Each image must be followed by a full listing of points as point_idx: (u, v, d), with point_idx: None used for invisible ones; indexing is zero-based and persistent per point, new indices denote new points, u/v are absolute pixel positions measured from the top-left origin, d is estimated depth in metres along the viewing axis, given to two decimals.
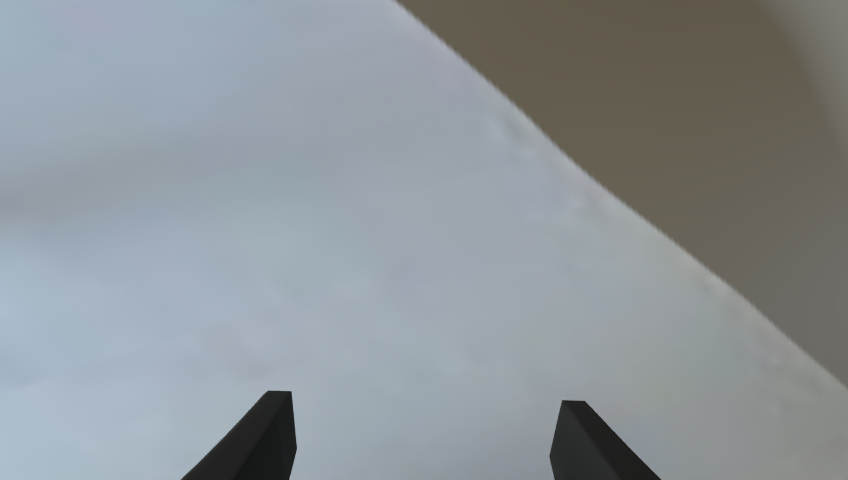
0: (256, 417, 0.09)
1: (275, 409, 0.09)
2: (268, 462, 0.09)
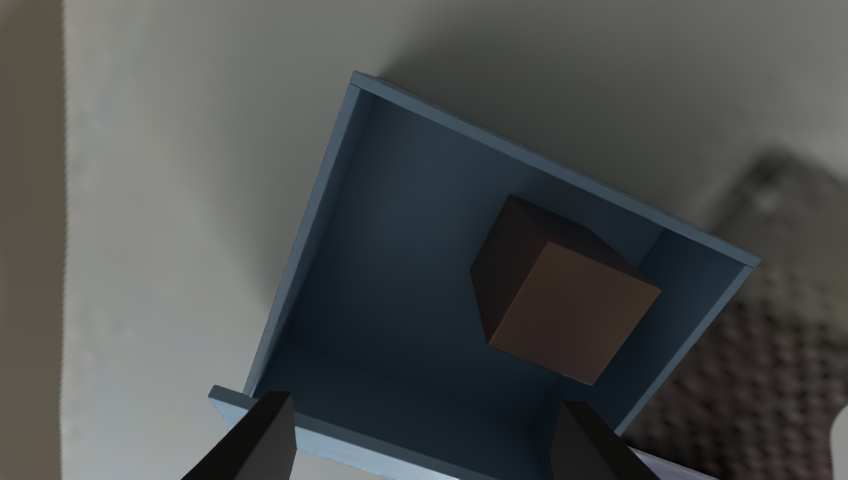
0: (256, 417, 0.09)
1: (275, 409, 0.09)
2: (268, 462, 0.09)
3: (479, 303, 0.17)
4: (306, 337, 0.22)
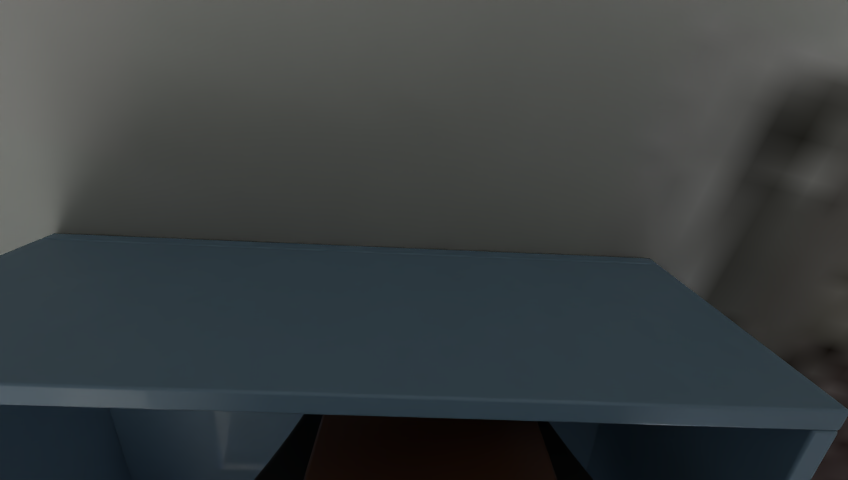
0: (314, 419, 0.09)
1: None
2: None
3: None
4: None
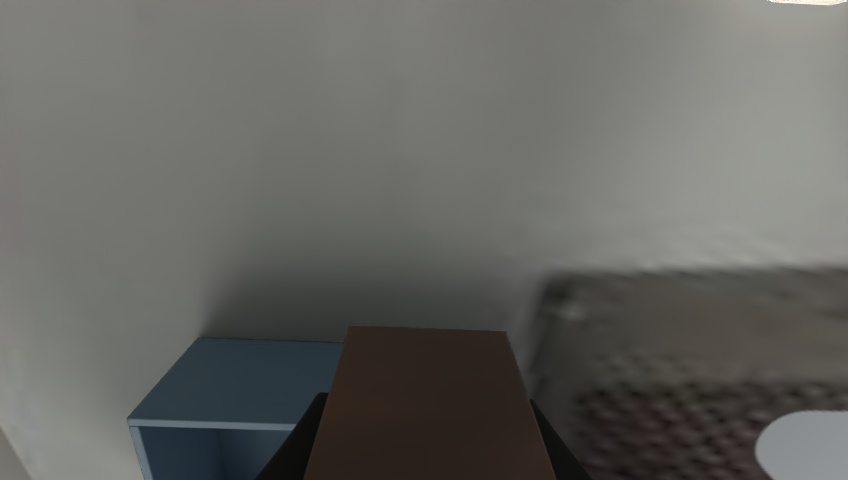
0: (314, 419, 0.09)
1: None
2: None
3: None
4: None
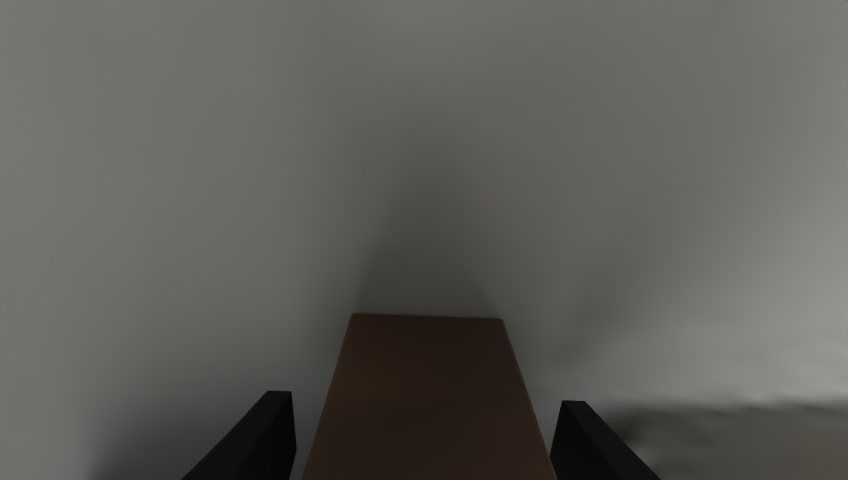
0: (256, 417, 0.09)
1: (275, 409, 0.09)
2: (268, 462, 0.09)
3: None
4: None
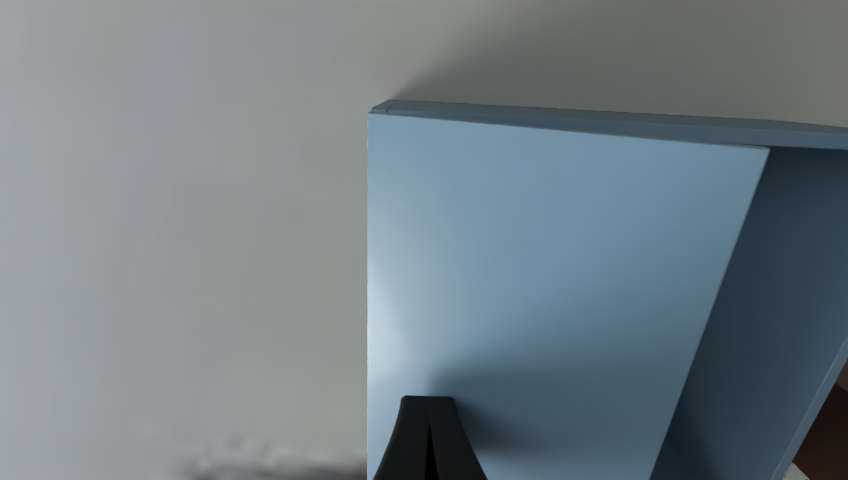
0: (411, 422, 0.09)
1: (425, 414, 0.09)
2: None
3: None
4: None
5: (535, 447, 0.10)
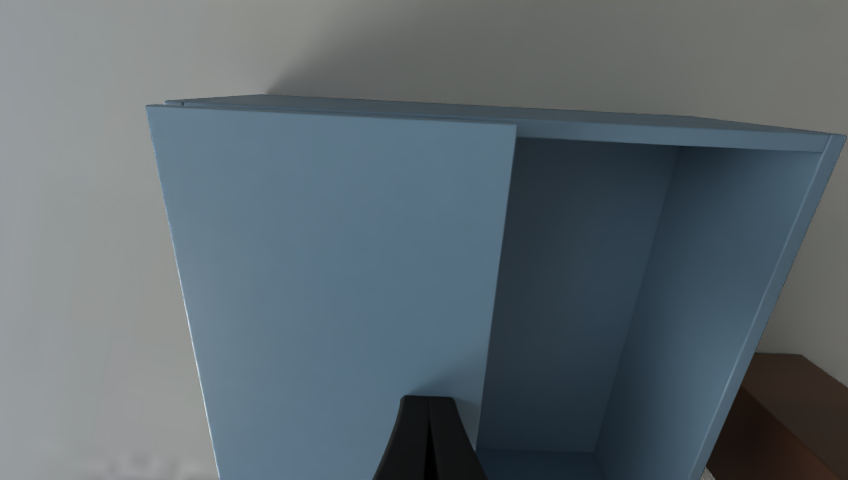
0: (410, 422, 0.09)
1: (424, 414, 0.09)
2: None
3: (778, 415, 0.14)
4: None
5: (389, 412, 0.10)
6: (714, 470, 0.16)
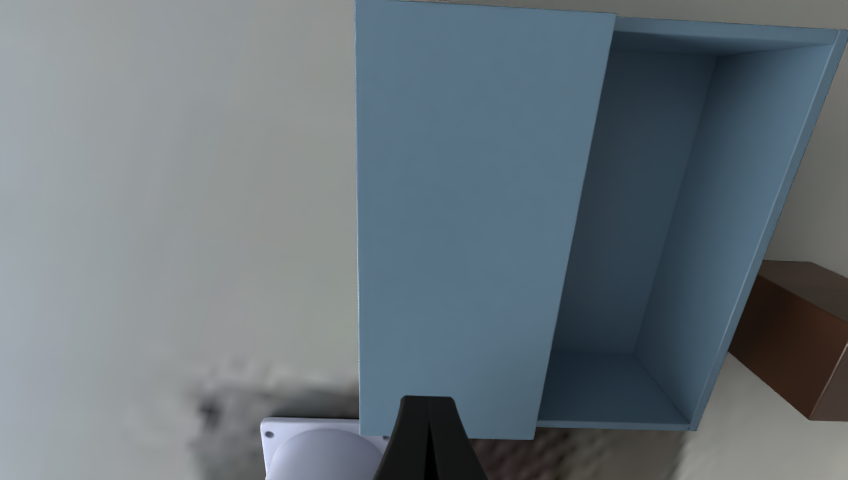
0: (411, 422, 0.09)
1: (425, 414, 0.09)
2: (425, 466, 0.09)
3: (794, 292, 0.17)
4: None
5: (499, 256, 0.14)
6: (739, 355, 0.19)
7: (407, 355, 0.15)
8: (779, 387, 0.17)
